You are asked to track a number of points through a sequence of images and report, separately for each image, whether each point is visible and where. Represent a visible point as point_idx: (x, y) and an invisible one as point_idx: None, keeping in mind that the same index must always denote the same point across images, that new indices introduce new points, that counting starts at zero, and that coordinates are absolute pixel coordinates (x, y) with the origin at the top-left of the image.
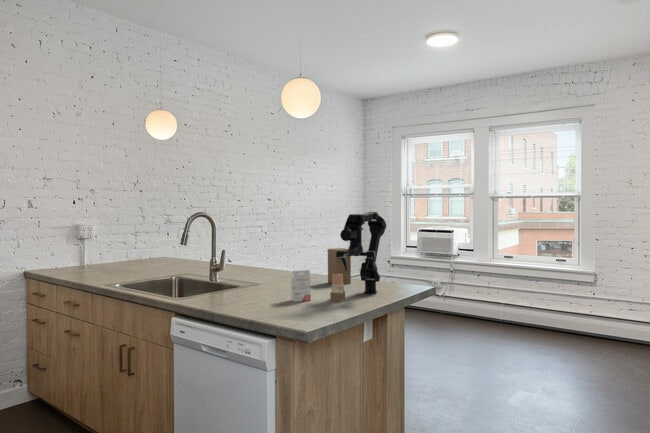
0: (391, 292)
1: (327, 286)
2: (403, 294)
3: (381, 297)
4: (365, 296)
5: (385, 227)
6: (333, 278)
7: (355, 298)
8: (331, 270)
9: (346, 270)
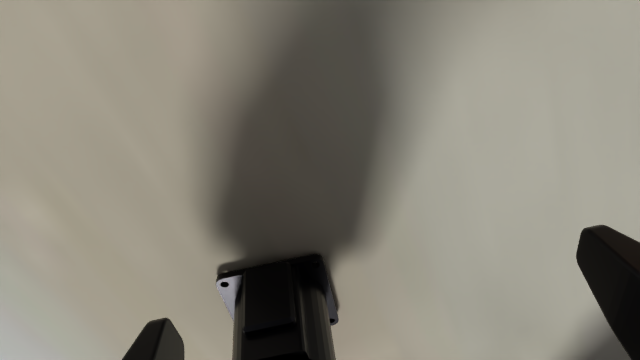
0: None
1: None
2: (8, 338)
3: (87, 180)
4: (252, 159)
5: None
6: None
7: (308, 26)
8: None
9: (604, 235)
